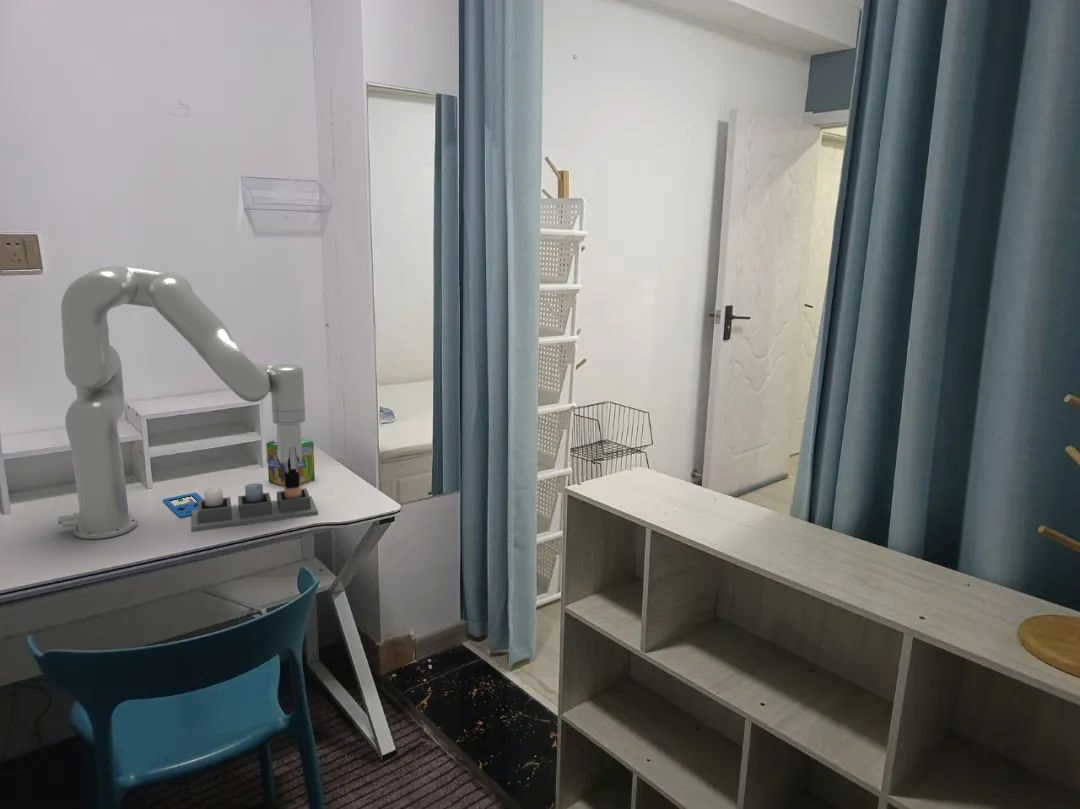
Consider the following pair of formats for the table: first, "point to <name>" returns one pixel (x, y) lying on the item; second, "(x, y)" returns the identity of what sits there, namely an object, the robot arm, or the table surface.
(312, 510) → the grey socket tray
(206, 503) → the ivory key
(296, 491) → the terracotta key
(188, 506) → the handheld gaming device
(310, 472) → the chalk box
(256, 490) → the slate key
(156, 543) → the table surface
